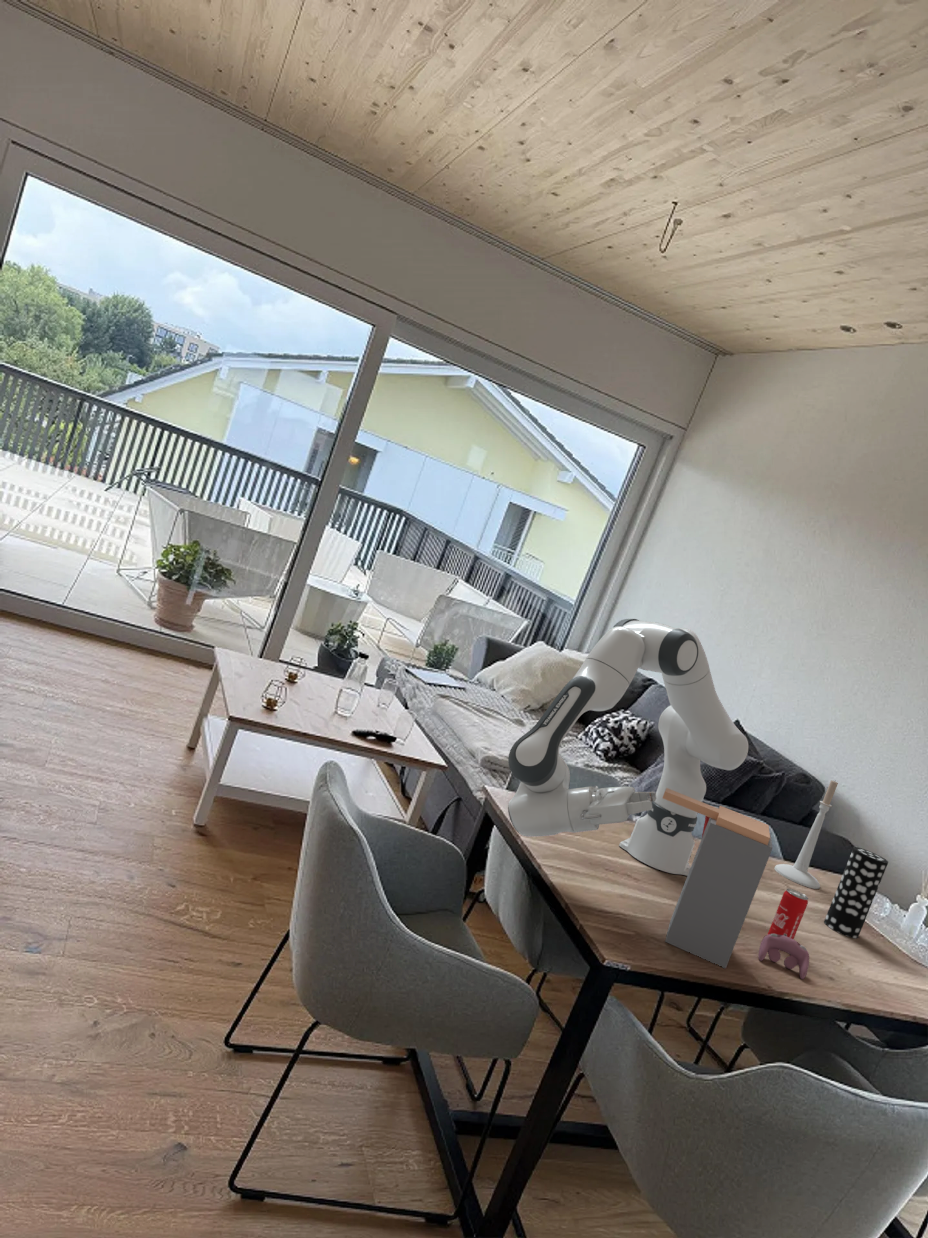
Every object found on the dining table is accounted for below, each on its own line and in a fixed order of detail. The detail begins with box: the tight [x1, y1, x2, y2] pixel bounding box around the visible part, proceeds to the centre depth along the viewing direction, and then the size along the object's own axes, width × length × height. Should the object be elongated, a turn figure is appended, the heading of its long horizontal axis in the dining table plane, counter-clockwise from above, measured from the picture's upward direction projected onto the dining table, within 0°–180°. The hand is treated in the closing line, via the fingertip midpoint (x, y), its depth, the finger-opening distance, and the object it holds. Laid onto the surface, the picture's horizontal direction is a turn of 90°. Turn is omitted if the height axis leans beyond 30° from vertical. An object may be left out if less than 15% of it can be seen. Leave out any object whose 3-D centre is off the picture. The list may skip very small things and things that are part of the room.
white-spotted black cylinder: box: [823, 846, 889, 939], centre depth 233 cm, size 8×8×20 cm
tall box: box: [665, 818, 774, 969], centre depth 188 cm, size 13×12×25 cm
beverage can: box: [767, 887, 809, 940], centre depth 206 cm, size 5×5×12 cm
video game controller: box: [757, 933, 810, 980], centre depth 194 cm, size 10×5×7 cm, turn 72°
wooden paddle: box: [663, 788, 771, 845], centre depth 188 cm, size 12×21×2 cm, turn 72°
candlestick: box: [774, 780, 839, 890], centre depth 269 cm, size 13×13×30 cm
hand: (653, 800), depth 192 cm, fingers open, 8 cm apart
